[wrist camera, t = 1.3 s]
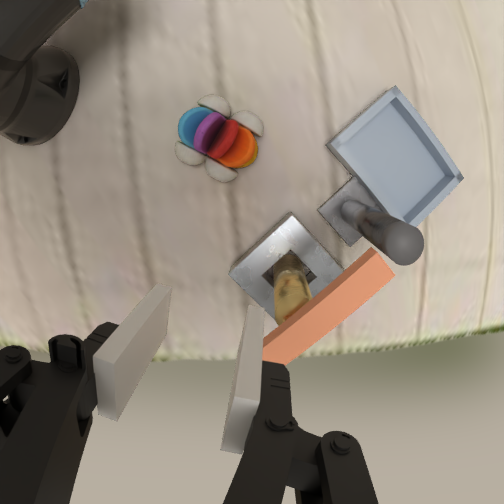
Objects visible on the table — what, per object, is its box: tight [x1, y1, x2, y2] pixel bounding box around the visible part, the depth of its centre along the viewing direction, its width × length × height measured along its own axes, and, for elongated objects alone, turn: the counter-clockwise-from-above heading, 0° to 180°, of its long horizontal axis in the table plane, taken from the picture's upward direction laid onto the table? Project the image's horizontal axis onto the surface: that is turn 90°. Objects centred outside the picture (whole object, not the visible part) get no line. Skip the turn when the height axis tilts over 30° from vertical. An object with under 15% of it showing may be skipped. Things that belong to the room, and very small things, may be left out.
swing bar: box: [262, 221, 424, 365], centre depth 24 cm, size 3×18×3 cm, turn 134°
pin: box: [274, 254, 312, 326], centre depth 34 cm, size 4×4×13 cm
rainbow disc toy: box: [175, 94, 264, 182], centre depth 33 cm, size 8×10×7 cm
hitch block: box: [228, 212, 344, 319], centre depth 39 cm, size 10×10×3 cm
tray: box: [326, 85, 464, 227], centre depth 34 cm, size 14×11×3 cm
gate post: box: [317, 177, 404, 255], centre depth 30 cm, size 6×6×16 cm
